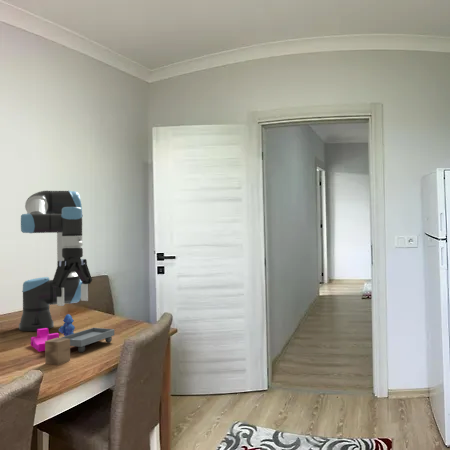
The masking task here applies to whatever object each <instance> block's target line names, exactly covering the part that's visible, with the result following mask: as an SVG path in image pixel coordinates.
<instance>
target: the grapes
mask: <svg viewBox="0 0 450 450" xmlns="http://www.w3.org/2000/svg"><path fill="white" fill-rule="evenodd" d="M62 321H63V322H64V323H63V325H61V326H60V327H59V328H58V332H59V334H63V335H64V336H68V335H71V334H74V333H75V332H74V331H75V329H76V328H75V325H74V324H73V322H74V319H73V316H72V315H71V314H69V313H67V314H66V315H65V316H64V317H63V320H62ZM64 336H63V337H64Z"/></svg>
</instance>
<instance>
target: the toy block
mask: <svg viewBox="0 0 450 450" xmlns="http://www.w3.org/2000/svg"><path fill="white" fill-rule="evenodd" d="M49 329H50V328H49ZM49 329H48V328H42V329H37V331H36V336H32V337H31V336H30V346H31V347H32V348H33V349H34V350H36V351H37V352H39V353H40V352H45V341H47V340H51V339H54V338H60V332H59V333H58V332H54V333H50V332H49Z"/></svg>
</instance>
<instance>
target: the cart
mask: <svg viewBox="0 0 450 450" xmlns="http://www.w3.org/2000/svg"><path fill="white" fill-rule="evenodd" d="M73 333H74V334H71V335H68V336H62V337H60V338H67V339H70V347H77V352H78V353H84V352H85V351H86V346H89V345H90V344H93V343H97V342H99V341H102V340H105V342H106V343H111V342H112V339H113V337H114V336H115V329H114V328H103V327H101V328H100V327H91V328H87V329H84V330H81V331H78V332H73Z"/></svg>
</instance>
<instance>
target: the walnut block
mask: <svg viewBox="0 0 450 450" xmlns="http://www.w3.org/2000/svg"><path fill="white" fill-rule="evenodd" d="M44 357H45V358H44V362H45V363H44V364H48V365H55V366H60V365H62V364H65V363H67V362H71V346H70V339H67V338H61V337H59V338H54V339H51V340H47V341H45V351H44Z"/></svg>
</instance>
